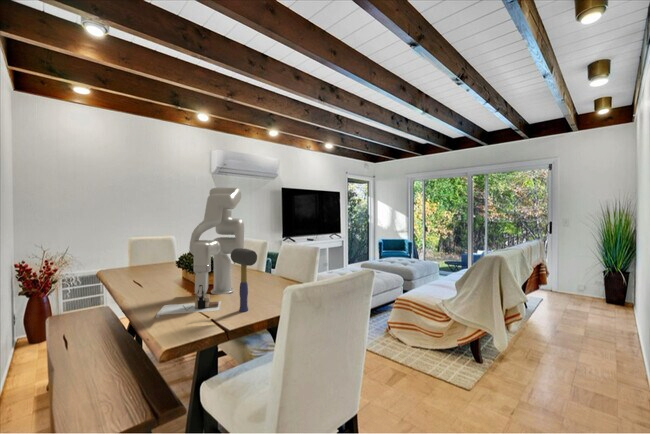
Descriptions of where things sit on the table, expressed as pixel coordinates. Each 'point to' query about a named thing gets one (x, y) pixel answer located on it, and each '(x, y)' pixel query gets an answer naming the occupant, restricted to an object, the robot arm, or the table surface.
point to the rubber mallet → (243, 272)
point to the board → (183, 309)
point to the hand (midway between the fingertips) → (202, 306)
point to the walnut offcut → (213, 304)
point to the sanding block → (207, 301)
